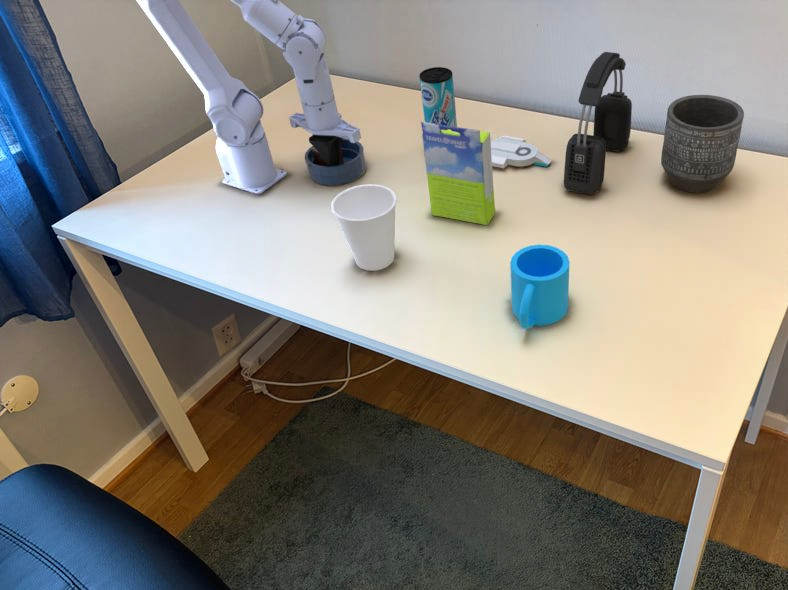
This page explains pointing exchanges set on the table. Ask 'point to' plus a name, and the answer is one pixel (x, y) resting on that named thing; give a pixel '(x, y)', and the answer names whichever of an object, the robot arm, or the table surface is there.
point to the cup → (368, 224)
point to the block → (319, 159)
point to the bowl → (339, 173)
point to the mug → (539, 285)
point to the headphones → (598, 127)
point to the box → (459, 172)
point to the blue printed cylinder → (438, 96)
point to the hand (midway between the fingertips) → (334, 169)
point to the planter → (701, 141)
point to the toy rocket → (515, 153)
